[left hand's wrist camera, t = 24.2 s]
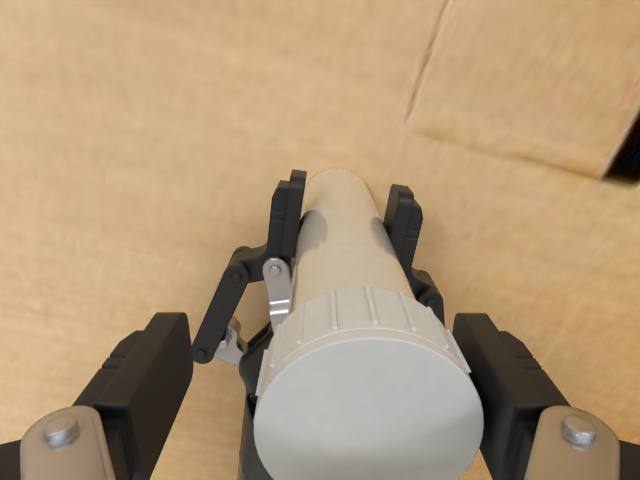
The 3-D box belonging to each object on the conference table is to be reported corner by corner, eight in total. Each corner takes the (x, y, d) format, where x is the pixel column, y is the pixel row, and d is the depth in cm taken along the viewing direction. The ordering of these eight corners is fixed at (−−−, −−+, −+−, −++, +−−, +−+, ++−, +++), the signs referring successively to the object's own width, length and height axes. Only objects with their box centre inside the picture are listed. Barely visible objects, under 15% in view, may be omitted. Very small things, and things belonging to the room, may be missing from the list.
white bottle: (352, 242, 27) (401, 493, 11) (292, 217, 27) (249, 443, 10) (381, 184, 26) (489, 371, 10) (319, 156, 25) (319, 305, 9)
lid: (243, 421, 12) (227, 494, 10) (290, 259, 10) (283, 307, 8) (415, 459, 12) (434, 535, 10) (488, 312, 11) (529, 368, 9)
